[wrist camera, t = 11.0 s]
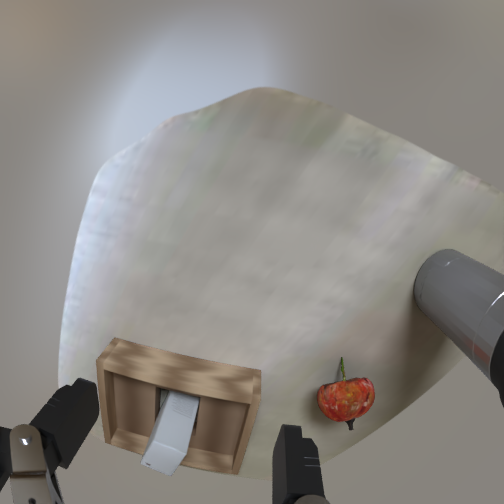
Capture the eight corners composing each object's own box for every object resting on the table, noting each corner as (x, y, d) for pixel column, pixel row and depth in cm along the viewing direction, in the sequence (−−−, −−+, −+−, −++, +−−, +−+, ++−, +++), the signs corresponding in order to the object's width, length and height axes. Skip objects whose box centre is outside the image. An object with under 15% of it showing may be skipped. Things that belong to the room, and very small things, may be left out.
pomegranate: (309, 360, 42) (310, 430, 38) (325, 355, 35) (327, 438, 31) (358, 357, 43) (360, 424, 39) (381, 351, 36) (384, 429, 32)
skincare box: (187, 417, 43) (170, 477, 31) (161, 405, 42) (138, 464, 31) (203, 392, 41) (187, 455, 30) (174, 379, 41) (151, 439, 29)
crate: (261, 370, 40) (260, 399, 34) (240, 446, 44) (237, 474, 38) (114, 337, 40) (96, 360, 34) (118, 418, 43) (105, 442, 38)
